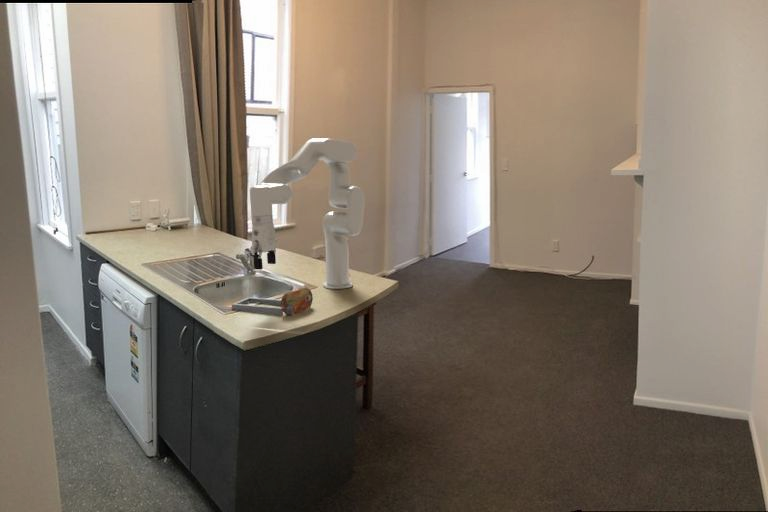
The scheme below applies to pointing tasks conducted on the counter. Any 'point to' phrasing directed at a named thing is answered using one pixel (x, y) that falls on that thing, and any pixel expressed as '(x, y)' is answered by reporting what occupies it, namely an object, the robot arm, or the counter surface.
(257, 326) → the counter surface
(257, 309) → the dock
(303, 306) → the tin
